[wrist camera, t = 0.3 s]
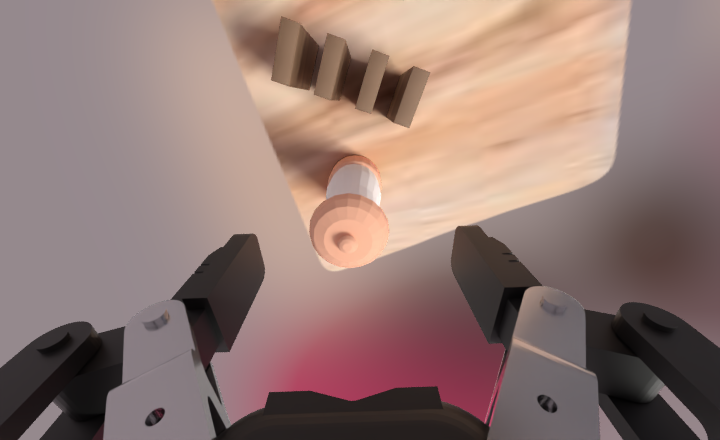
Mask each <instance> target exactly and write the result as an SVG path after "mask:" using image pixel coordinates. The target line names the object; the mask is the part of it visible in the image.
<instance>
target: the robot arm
mask: <svg viewBox="0 0 720 440" xmlns="http://www.w3.org/2000/svg"><path fill="white" fill-rule="evenodd" d="M451 267H452V271H453V274H454V276H455V278H456V280H457V282H458V284H459V286H460V288H461V290H462V292H463V294H464V296H465V298H466V300H467V302H468V304H469V306H470V307H471V310H472V312H473V314H474V316H475V317H476V320H477V322H478V323H479V325H480V327H481V329H482V331H483V333H484V335H485V337H486V339H487V341H488V343H489V344H490V343H491V344H492V343H503V345H504V347H505V349H506V350H505V353H504V357H503V360H502V363H501V367H500V370H499V374H498V377H497V381H496V385H495V388H494V392H493V395H492V399H491V403H490V406H489V409H488V412H487V416H486V419H485V422H482V421H481V420H480V419H478V418H476V417H475V416H473V415H472V414H470V413H469V412H467V411H465V410H463V409H461V408H459V407H457V406H454V405H451V404H449V403H446V402H442V401H441V399H440V395H439V392H438V388H437V387H411V388H410V387H408V388H394V389H391V390H388V391H385V392H382V393H378V394H375V395H372V396H369V397H366V398H363V399H360V400H356V401H348V400H344V399H340V398H336V397H332V396H328V395H324V394H320V393H317V392H313V391H294V392H269V395H268V398H267V402H266V405H265V408H262V409H260V410H257V411H255V412H253V413H250V414H248V415H247V416H245V417H243V418H241V419H240V420H238V421H237V422H235V423H234V424H233V425H231V423H230V421H229V418H228V415H227V412H226V409H225V406H224V402H223V399H222V396H221V392H220V388H219V385H218V381H217V378H216V375H215V371H214V368H213V365H212V363H211V359H212V357H213V355H214V353H215V352H230V350H231V347H232V345H233V343H234V341H235V339H236V337H237V334H238V333H239V330H240V328H241V326H242V324H243V322H244V320H245V318H246V316H247V314H248V311H249V309H250V307H251V305H252V303H253V301H254V299H255V297H256V294H257V292H258V290H259V288H260V286H261V284H262V282H263V279H264V274H265V267H264V262H263V258H262V255H261V251H260V247H259V243H258V239H257V237H256V235H255V234H235V235H233V236H232V237H231V238H230V240H229V241H228V242H227V244H226V245H225V246H224V247H221V248H219V249H217V250H216V251H215V252H213V253H211V254H210V255H209V256H208V257H207V258H206V259H205V260H204V261H203V263H202V264H201V266H199V267H198V268H197V270H196V271H195V274H192V275H191V277H190V278H189V279H188V280H187V281H186V282H185V284H184V285H183V286H182V287H181V288H180V289H179V291H178V292H177V293H176V294H175V295H174V296H173V298H172V299H171V300H166V301H162V302H158V303H155V304H153V305H151V306H149V307H147V308H145V309H143V310H142V311H140V312H139V313H137V314H136V315H135V316H134V317H133V318H132V319H131V320H130V321H129V322H128V323H127V325H126V326H125V327H121V328H117V329H114V330H110V331H106V332H102V333H97V332H96V331H95V330H94V328H93V327H92V325H91V324H90V323H88V322H74V323H69V324H66V325H63V326H60V327H58V328H55V329H53V330H51V331H49V332H47V333H45V334H43V335H42V336H40V337H38V338H37V339H35V340H34V341H33V342H31V343H30V344H29V345H27V346H26V347H25V348H24V349H23V350H21V351H20V352H19V353H18V354H17V355H15V356H14V357H13V358H12V359H11V360H9V361H8V362H7V363H6V364H5V365H4V366H2V367H1V368H0V440H18V439H19V438H20V437H21V435H22V434H23V433H24V432H25V431H26V430H27V429H28V428H29V426H30V425H31V424H32V423H33V422H34V421H35V420H36V419H37V418H38V417H39V415H40V414H41V413H42V412H43V411H44V410H45V409H46V408H47V407H48V405H49V404H50V403H51V402H52V401H53V402H54V403H55V404H56V405H57V406H58V407H59V408H60V409H61V410H62V411H63V412H62V414H61V415H60V416H59V417H58V418H57V420H56V421H55V422H54V423H53V424H52V425H51V427H50V428H49V429H48V430H47V431H46V432H45V434H44V435H43V436H42V437H41V438H40V440H600V422H599V406H600V407H601V409H602V410H603V411H604V413H605V414H606V416H607V417H608V419H609V420H610V422H611V423H612V424H613V426H614V427H615V429H616V430H617V432H618V433H619V435H620V436H621V437H622V439H623V440H700V439H699V438H698V437H697V436H696V434H695V433H694V432H693V431H692V430H691V429H690V428H689V427H688V425H686V423H685V422H684V421H683V420H682V419H681V418H680V417H679V416H678V414H677V413H676V412H675V411H674V410H673V409H672V408H671V407H670V406H669V405H668V404H667V402H666V401H665V400H664V399H663V398H662V397H661V396H660V395H659V394H658V393H659V392H660V391H661V390H662V388H663V387H664V386H665V385H666V386H667V387H668V388H669V389H670V390H671V392H673V394H674V395H675V396H676V397H677V398H678V399H679V400H680V401H681V402H682V403H683V404H684V405H685V406H686V407H687V408H688V409H689V410H690V411H691V412H692V413H693V414H694V416H695V417H696V418H697V419H698V420H699V421H700V423H701V424H702V425H703V427H704V429H705V431H706V433H707V436H708V440H720V348H719V347H718V346H716V345H715V344H714V343H712V342H711V341H710V340H708V339H707V338H706V337H705V336H703V335H702V334H701V333H699V332H698V331H697V330H696V329H694V328H693V327H692V326H690V325H689V324H688V323H686V322H685V321H684V320H682V319H680V318H679V317H677V316H676V315H674V314H672V313H670V312H668V311H665V310H663V309H660V308H658V307H655V306H651V305H648V304H644V303H636V302H631V303H630V302H629V303H625V304H623V305H622V306H621V307H620V309H619V310H618V312H617V314H616V315H612V314H606V313H600V312H595V311H590V310H585V309H583V307H582V306H581V304H580V303H579V302H578V301H576V300H575V299H574V298H573V297H571V296H569V295H568V294H565V293H564V292H562V291H560V290H557V289H554V288H550V287H544V286H542V285H541V284H540V283H539V282H538V280H537V279H536V278H535V277H534V276H533V275H532V274H531V273H530V272H529V271H528V269H527V268H526V267H525V266H524V265H523V264H522V263H521V262H519V260H518V258H517V257H516V256H515V255H513V254H512V252H511V251H510V250H509V249H508V248H507V247H506V245H505V244H503V243H501V242H500V241H498V240H496V239H495V238H493V237H488V236H487V235H486V234H485V233H484V232H483V230H482V229H481V228H480V227H479V226H477V225H475V226H458V227H457V228H456V231H455V237H454V244H453V250H452V257H451Z"/></svg>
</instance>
